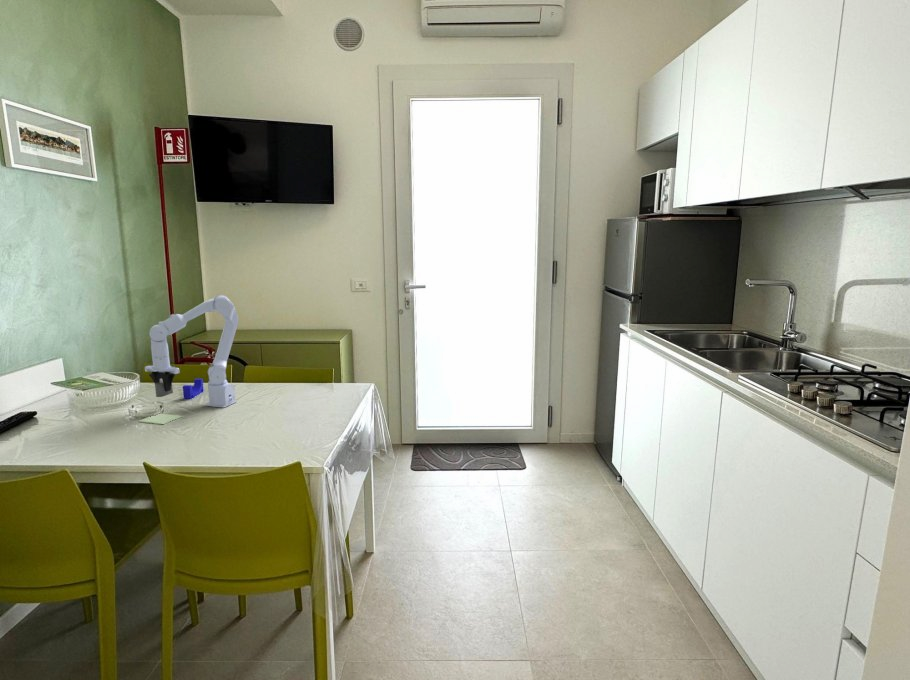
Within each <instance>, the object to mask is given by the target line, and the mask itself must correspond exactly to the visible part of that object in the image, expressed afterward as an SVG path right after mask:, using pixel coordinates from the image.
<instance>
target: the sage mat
mask: <svg viewBox="0 0 910 680" xmlns="http://www.w3.org/2000/svg"><path fill="white" fill-rule="evenodd" d="M157 414H158V413H157ZM150 416H151V417H150ZM150 416H147V417H145V418H143V419H139V420H138V422H139V423H144V424H152V423H154V424H153V425H161V424H164V425H166V424H169V423H171V422H172V420H173V421H175V419H176V420H178V419H181V418H183V416H182V415H177V414H167V413H160V414H158V415H156V416H152V415H150ZM170 421H171V422H170Z"/></svg>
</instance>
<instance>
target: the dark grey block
mask: <svg viewBox="0 0 910 680" xmlns="http://www.w3.org/2000/svg"><path fill="white" fill-rule="evenodd" d="M154 389H155V390H154V391H155V397H156V398H163V397H167V396H168V395H171V394H173V393H174V391H173V390H174V389H173V384H172V385H171V390H170V391H167V392H166V391H165V389H164V383H163V380H162V379H160V382H158V383H154Z"/></svg>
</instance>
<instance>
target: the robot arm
mask: <svg viewBox="0 0 910 680" xmlns="http://www.w3.org/2000/svg"><path fill="white" fill-rule="evenodd" d="M215 311H217V313H219V314H220V315H221V316H222V317H223V319H224V320H225V322H224V324H223V329H222V333H221V336H220V338H219V339H220V340H219V342H218V346H217V350H216V354H215V356H214V359H213V361H212V364H211V365H210V366H209V368H208V370H207V375H208V379H209V380H208V381H207V390H208V401H209V402H208V403H204V406H205V407H206V406H207V407H214V408H215V407H217V408H226V407H229V406H231V405H233V404H236V403H237V400H236V392H235V387H234V385H233V384H231V383H229V382H228V380H227V373H226V370H227V365H228V359H229V355H230V353H231V349H232V346H233V343H234V338H235V336H236V335H235V334H236V332H237V328H238V325H239V321H240V318H239V315H238V313H237V310H236V307H235V305H234V304H233V302H232V300H230V299H229V297H227V296H226V295H224V294H223V295H222V294H219V295H216V296H215V297H211V298H210V299H206V300H205V301H203V302H202V303H200V304H198V305H196V306H194V307H193V308H191V309H190V310H188V311H186V312H185V313H183V314H179V313H176V314H174V313H172V314H170V315H169V317H168V318H166V319H165V320H163V321H158V322H157V323H158V324H155V325H153V326H152V327H150V329H149V331H148V332H149V333H148V334H149V337H150V344H151V345H150V350H151V359H152V365H146V366H144V371H145V372H146V373H147V372H151V373H149V374H148V376H149V378H150V379H151V381H153V382H154V384H155V383H158V382H160V379H162V380H163V383H164V389H165V391H166V392H167V391H170V390H171V385H172V386H173V380H174V378H175V376H176V375H177V374H180V373H181V372H180V368H179V367H175V366H172V365H171V363H170V362H171V361H170V352H169V344H168V341H167V340H168V339H167V338H168V336H170V335H173V334H174V333H176V332H178V331H180V330H182V329H184V328H185V327H186V326H187V323H188V322H190V321H191V320H194V319H195V318H197V317H199V316H201V315H203V314H205V313H215Z"/></svg>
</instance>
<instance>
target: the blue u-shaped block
mask: <svg viewBox="0 0 910 680" xmlns="http://www.w3.org/2000/svg"><path fill="white" fill-rule="evenodd" d="M203 391H204V392H205V389H204V379H203V378H195V379H194V380H193V385H191V384H190V385H189V384H188V385H187V384H183V385H182V393H183V400H184V399H191V400H193V399H195V398H196V397H198V396H199V395H201V394H202V393H204V392H203ZM200 393H201V394H200ZM197 395H198V396H197ZM195 396H196V397H195ZM192 398H193V399H192Z"/></svg>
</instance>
